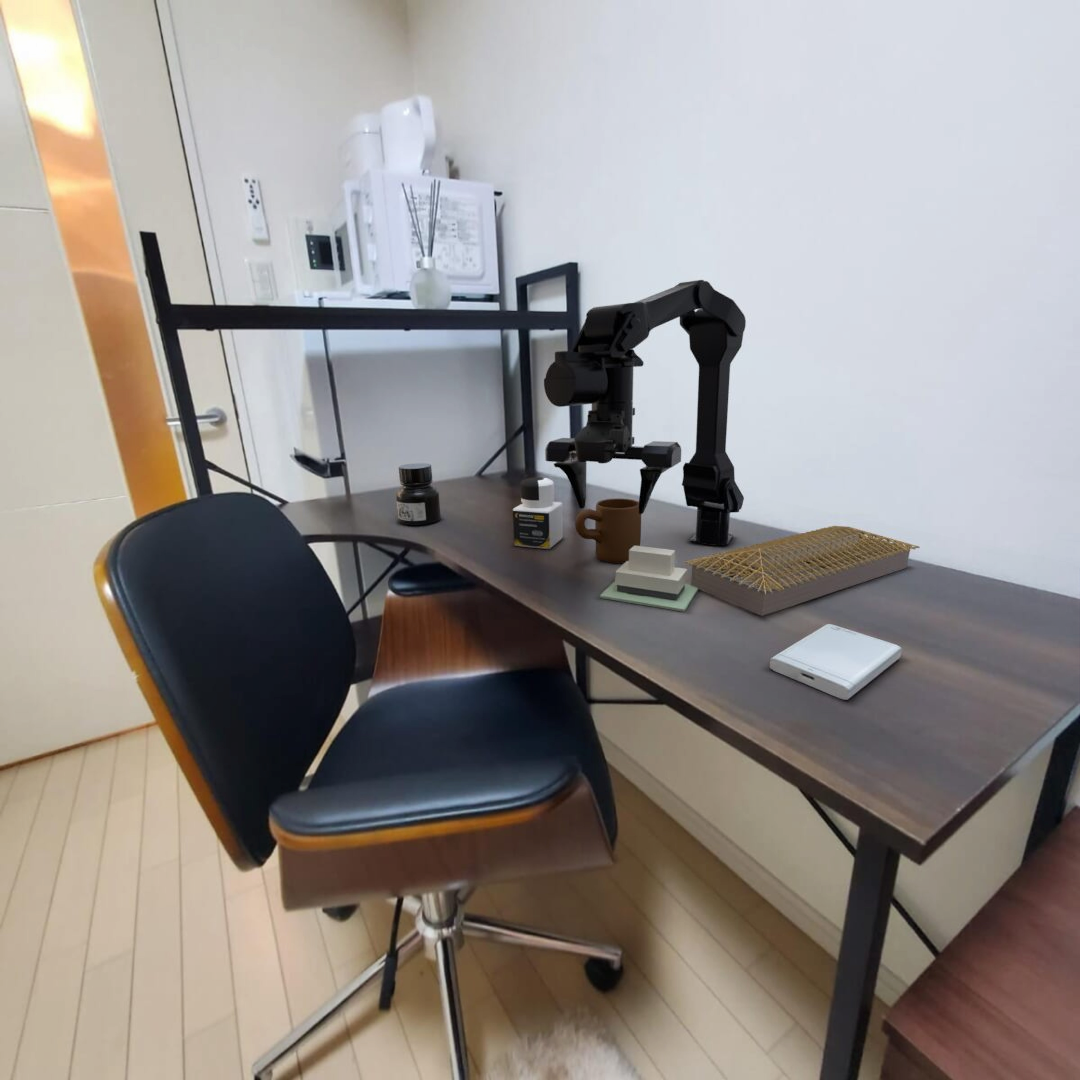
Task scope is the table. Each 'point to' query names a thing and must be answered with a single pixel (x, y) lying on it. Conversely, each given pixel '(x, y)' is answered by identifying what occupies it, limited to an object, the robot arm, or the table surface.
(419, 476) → the ink bottle
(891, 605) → the table surface
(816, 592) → the rafter model
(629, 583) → the white stepped block
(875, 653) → the hard drive
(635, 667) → the table surface
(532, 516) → the medicine bottle
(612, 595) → the desk mat
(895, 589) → the table surface
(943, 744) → the table surface
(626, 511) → the mug
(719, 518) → the robot arm
